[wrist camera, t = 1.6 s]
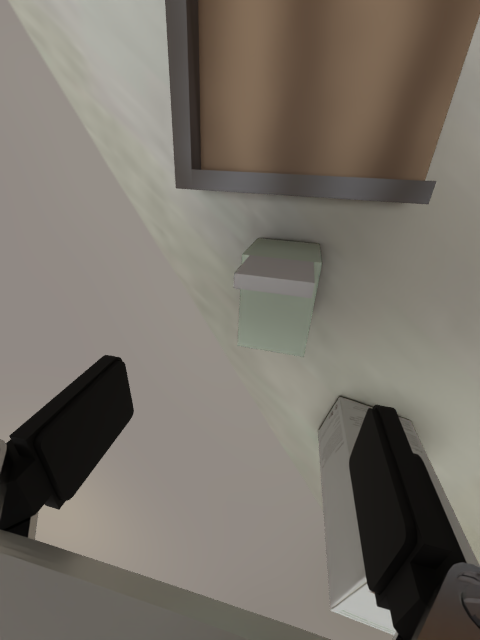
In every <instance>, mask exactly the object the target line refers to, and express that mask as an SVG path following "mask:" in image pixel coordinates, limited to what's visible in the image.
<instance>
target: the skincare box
mask: <svg viewBox="0 0 480 640" xmlns="http://www.w3.org/2000/svg"><path fill="white" fill-rule="evenodd" d="M368 408H372V407H369V406H366V405H364V404H361V403H358V402H355V401H352V400H349V399H346V398H343V397H339V398H338V400H337V401H336V403H335V405H334V406H333V408H332V410H331V411H330V413H329V414H328V416H327V418H326V420H325V421H324V423H323V425H322V426H321V428H320V429H319V431H318V440H319V455H320V469H321V484H322V497H323V512H324V526H325V541H326V554H327V569H328V583H329V599H330V610H331V611H333V612H335V613H338V614H341V615H343V616H346V617H348V618H351V619H353V620H356V621H359V622H361V623H364V624H366V625H369V626H372V627H375V628H377V629H379V630H382V631H384V632H387V633H389V634H392V635H395V633H396V630H395V629H394V627H393V623H392V618H391V613H390V610H387V609H384V608H381V607H377V604H376V598H375V592H372V591H370V590H369V588H368V585H367V580H366V574H365V567H364V561H363V554H362V548H361V541H360V535H359V529H358V522H357V516H356V509H355V503H354V496H353V490H352V483H351V477H350V470H349V458H350V455H351V452H352V450H353V447H354V444H355V442H356V439H357V436H358V434H359V431H360V428H361V426H362V423H363V420H364V418H365V415H366V412H367V410H368ZM398 417H399V416H398ZM399 419H400V422H401V424H402V427H403V429H404V432H405V434H406V437H407V439H408V442H409V444H410V447H411V449H412V452H413V453H415V454H418V455H419V456H420V457H421V458H422V460H423V462H424V464H425V466H426V468H427V471H428V473H429V475H430V478H431V480H432V482H433V485H434V487H435V489H436V492H437V494H438V496H439V499H440V501H441V503H442V506H443V508H444V511H445V513H446V515H447V518H448V520H449V522H450V525H451V527H452V529H453V532H454V534H455V536H456V539H457V541H458V543H459V546H460V548H461V550H462V553H463V555H464V557H465V560H466V562H467V563H469V564H473V565H476V566H478V567H480V566H479V564H478V561H477V559H476V557H475V555H474V553H473V551H472V549H471V547H470V545H469V543H468V540H467V538H466V536H465V534H464V532H463V530H462V528H461V526H460V523H459V521H458V519H457V517H456V515H455V513H454V511H453V509H452V507H451V505H450V502H449V500H448V498H447V496H446V494H445V492H444V490H443V488H442V486H441V483H440V481H439V479H438V477H437V475H436V473H435V471H434V469H433V467H432V465H431V462H430V460H429V458H428V456H427V454H426V452H425V450H424V448H423V446H422V444H421V441H420V439H419V437H418V435H417V433H416V431H415V429H414V427H413V424H412V422H411V421H410V420H407V419H404V418H401V417H399Z"/></svg>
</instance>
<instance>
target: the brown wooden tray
mask: <svg viewBox="0 0 480 640" xmlns="http://www.w3.org/2000/svg"><path fill="white" fill-rule="evenodd" d="M165 5H166V23H167V40H168V58H169V75H170V93H171V110H172V128H173V145H174V163H175V180H176V188H179V189H195V190H211V191H227V192H242V193H258V194H274V195H290V196H305V197H321V198H337V199H353V200H369V201H384V202H400V203H416V204H429V201H430V198H431V195H432V192H433V189H434V187H435V184H436V181H425V179H426V176H427V173H428V170H429V167H430V163H431V160H432V157H433V154H434V151H435V148H436V145H437V142H438V139H439V136H440V133H441V130H442V127H443V124H444V121H445V118H446V115H447V112H448V109H449V106H450V103H451V100H452V97H453V94H454V91H455V88H456V85H457V82H458V79H459V76H460V73H461V70H462V67H463V64H464V61H465V58H466V55H467V52H468V49H469V46H470V43H471V39H472V36H473V33H474V30H475V27H476V24H477V21H478V18H479V15H480V0H165Z"/></svg>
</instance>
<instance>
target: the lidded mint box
mask: <svg viewBox="0 0 480 640" xmlns="http://www.w3.org/2000/svg"><path fill="white" fill-rule="evenodd" d="M321 266H322V258H321V252H320V245H319V244H317V243H307V242H294V241H283V240H273V239H265V238H258V239H257V240H256V241H255V242H254V243H253V244H252V245H251V246H250V247H249V248H248V249H247V250H246V251H245V252H244V253H243V254H242V265H241V266H240V267H239V268H238V270H237V271H236V272H235V273H234V288H237V289H240V307H239V326H238V345H237V346H242V347H248V348H254V349H260V350H266V351H271V352H277V353H283V354H289V355H294V356H300V357H304V353H305V348H306V343H307V338H308V333H309V328H310V323H311V317H312V312H313V307H314V302H315V297H316V292H317V287H318V282H319V277H320V272H321Z"/></svg>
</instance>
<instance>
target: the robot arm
mask: <svg viewBox="0 0 480 640" xmlns="http://www.w3.org/2000/svg"><path fill="white" fill-rule="evenodd" d="M133 412H134V410H133V403H132V398H131V393H130V388H129V383H128V377H127V372H126V367H125V363H124V362H122V359H121V358H119V357H115V356H108V355H105V356H103V357H102V358H101V359H99V360H98V361H97V362H96V363H95V364H93V365H92V366H91V367H90V368H89V369H88V370H86V371H85V372H84V373H83V374H82V375H80V376H79V377H78V378H77V379H76V380H75V381H73V382H72V383H71V384H70V385H69V386H68V387H66V388H65V389H64V390H63V391H62V392H60V393H59V394H58V395H57V396H56V397H55V398H53V399H52V400H51V401H50V402H49V403H47V404H46V405H45V406H44V407H43V408H42V409H40V410H39V411H38V412H37V413H36V414H35V415H33V416H32V417H31V418H30V419H29V420H27V421H26V422H25V423H24V424H23V425H21V426H20V427H19V428H18V429H17V430H16V431H15V432H13V433H12V434H11V435H10V438H11V440H10V441H9V442H7V443H5V442H4V441H3V440H1V439H0V640H331V639H328V638H325V637H322V636H319V635H317V634H314V633H311V632H308V631H306V630H303V629H300V628H297V627H294V626H291V625H289V624H286V623H283V622H280V621H277V620H274V619H271V618H268V617H265V616H262V615H259V614H256V613H253V612H250V611H247V610H244V609H241V608H238V607H235V606H232V605H229V604H227V603H224V602H221V601H218V600H214V599H212V598H209V597H206V596H203V595H200V594H197V593H194V592H191V591H188V590H185V589H182V588H179V587H176V586H173V585H170V584H167V583H164V582H161V581H158V580H155V579H152V578H149V577H146V576H143V575H140V574H137V573H134V572H131V571H128V570H125V569H122V568H119V567H116V566H113V565H110V564H107V563H104V562H101V561H98V560H94V559H92V558H89V557H86V556H82V555H79V554H76V553H73V552H70V551H67V550H64V549H61V548H58V547H55V546H52V545H49V544H46V543H43V542H40V541H37V540H35V533H36V526H37V518H38V511H39V510H40V509H41V507H42V506H43V505H44V504H45V505H46V506H49V507H53V508H56V509H60V508H61V506H62V505H63V504H64V502H65V501H66V500H69V499H71V498H72V497H73V496H74V494H75V493H76V491H77V490H78V489H79V487H80V486H81V485H82V483H83V482H84V481H85V480H86V478H87V477H88V476H89V474H90V473H91V472H92V470H93V469H94V468H95V466H96V465H97V464H98V462H99V461H100V459H101V458H102V457H103V455H104V454H105V453H106V452H107V450H108V449H109V448H110V446H111V445H112V443H113V442H114V441H115V439H116V438H117V436H118V435H119V434H120V433H121V431H122V430H123V429H124V427H125V426H126V425H127V423H128V422H129V421H130V419H131V418H132V415H133ZM349 470H350V477H351V483H352V490H353V496H354V503H355V509H356V516H357V522H358V529H359V535H360V541H361V548H362V554H363V561H364V567H365V574H366V580H367V585H368V588H369V590H370V591H372V592H375V598H376V604H377V607H381V608H384V609H387V610H390V613H391V618H392V623H393V627H394V629H395V630H396V633H395V635H394V637H393V639H392V640H480V567H478V566H476V565H473V564H469V563H467V562H466V560H465V557H464V555H463V553H462V550H461V548H460V546H459V543H458V541H457V539H456V536H455V534H454V532H453V529H452V527H451V525H450V522H449V520H448V518H447V515H446V513H445V511H444V508H443V506H442V503H441V501H440V499H439V496H438V494H437V492H436V489H435V487H434V485H433V482H432V480H431V478H430V475H429V473H428V471H427V468H426V466H425V464H424V462H423V460H422V458H421V457H420V456H419V455H418V454H415V453H413V452H412V449H411V447H410V444H409V442H408V439H407V437H406V434H405V432H404V429H403V427H402V424H401V422H400V419H399V417H398V414H397V412H396V410H395V409H394V408H391V407H385V406H380V405H375V406H374V407H373V408H368V410H367V412H366V415H365V418H364V420H363V423H362V426H361V428H360V431H359V434H358V436H357V439H356V442H355V444H354V447H353V450H352V452H351V455H350V458H349Z"/></svg>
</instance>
